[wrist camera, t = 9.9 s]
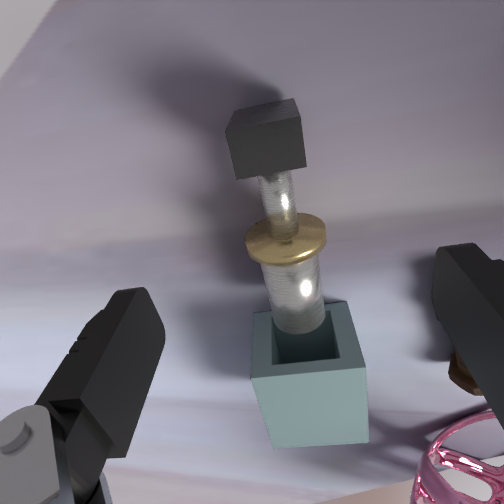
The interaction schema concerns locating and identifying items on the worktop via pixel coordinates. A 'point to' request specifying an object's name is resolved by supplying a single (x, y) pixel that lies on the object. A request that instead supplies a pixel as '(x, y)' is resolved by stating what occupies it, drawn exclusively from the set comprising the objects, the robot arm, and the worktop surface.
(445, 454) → the spiral basket
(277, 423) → the housing
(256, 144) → the plunger
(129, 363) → the robot arm
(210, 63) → the worktop surface
